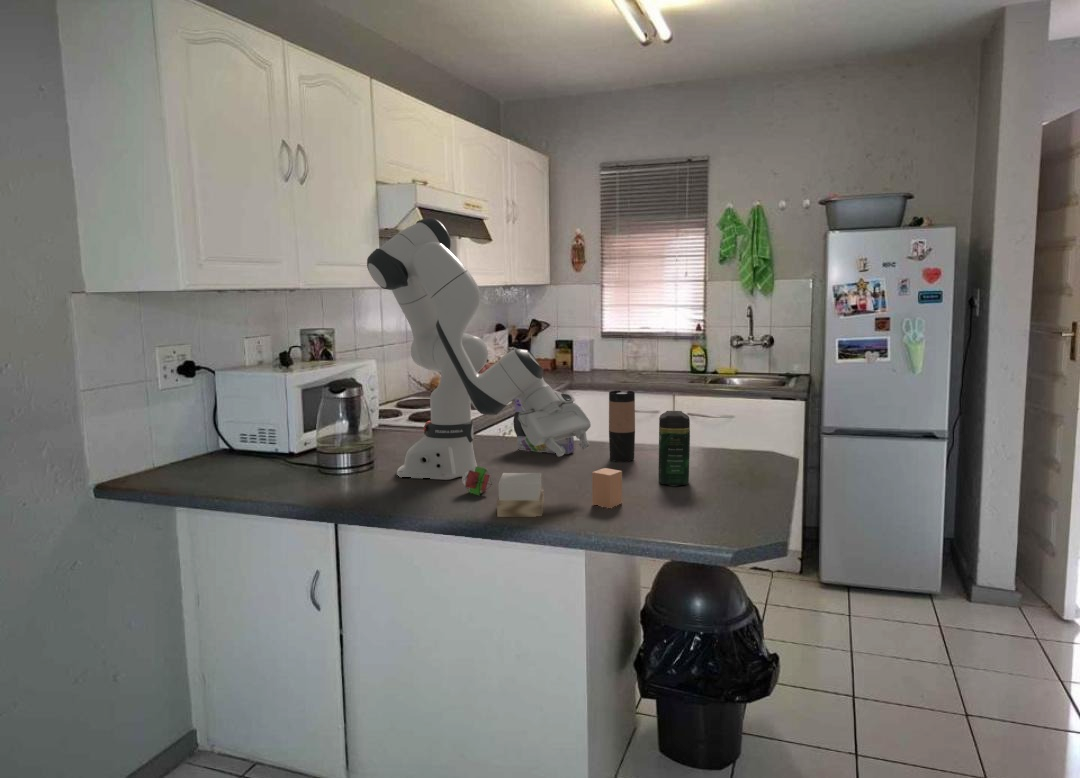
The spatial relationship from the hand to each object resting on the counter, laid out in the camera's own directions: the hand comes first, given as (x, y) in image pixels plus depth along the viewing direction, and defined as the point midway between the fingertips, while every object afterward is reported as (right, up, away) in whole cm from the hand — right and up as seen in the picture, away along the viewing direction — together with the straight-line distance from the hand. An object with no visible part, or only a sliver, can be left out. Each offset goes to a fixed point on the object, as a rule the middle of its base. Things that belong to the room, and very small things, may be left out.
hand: (574, 451), depth 182 cm
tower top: (-13, -10, -7) cm, 17 cm away
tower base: (-13, -13, -6) cm, 20 cm away
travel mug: (+16, -6, +42) cm, 45 cm away
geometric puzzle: (-24, -11, +8) cm, 28 cm away
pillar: (+8, -12, -3) cm, 15 cm away
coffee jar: (+27, -10, +15) cm, 32 cm away
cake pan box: (-7, -5, +54) cm, 54 cm away
